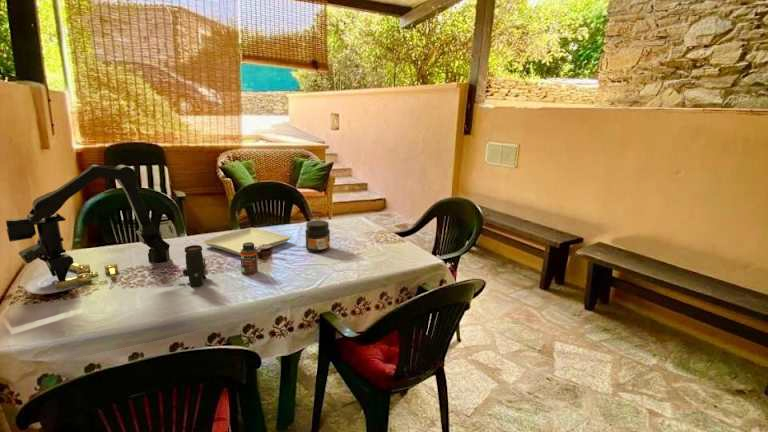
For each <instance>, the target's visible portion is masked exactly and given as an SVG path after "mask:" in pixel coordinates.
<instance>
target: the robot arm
mask: <svg viewBox="0 0 768 432" xmlns="http://www.w3.org/2000/svg"><path fill="white" fill-rule="evenodd" d="M101 178H104V179H110V180H111V179H112V180H116V182H117V184H118V185H120V187H121V189H122V190H123V191H124V193H125V195H126V197H127V200H128V203H129V205H130V207H131V209H132V211H133V214H134V216H135V218H136V221H137V223H138V230H135V232H136V234H137V235H138V240H139V241H140V242H141V243H142V244H144V245H146V246H147V247H149V249H148V253H147V259H148V262H149V263H153V264H163V263H168V261H170V260H171V261H173V260H172V258H170V257H171V256H170V246H171V245H170V244H169V243H168V242H167V241H165V240H164V238H163V237H162V235H161V234H160V232H159V231H158V229H157V227H155V225H154V224H153V222H152V220H151V218H150V215H149V213H148V211H147V208H146V206H145V203H144V201H143V198H142V196H141V194H140V192H139V188H138V177H137V172H136V171H135V169H134V168H132V167H130V166H128V165H124V164H119V165H117V166H112V165H97V164H92V165H90V166H89V167H87V168H86V169H85V170H83V171H82V172H81V173H79V174H78V175H77V176H75V177H73V178H72V179H70V180H69V181H68V182H66V183H65V184H63V185H62V186H60V187H59V188H57V189H55V190H53V191H49V192H47V193H44V194H43V195H40V196H38V197H36V198H35V199H34V200H33V201H32V204H31V205H32V206H31V210H30V211H29V212H28V214H27V216H26V217H23V218H16V219H14V218H13V219H6V220H5V225H6V233H7V234H6V235H7V237H8V241H9V243H10V242H11V243H12V242H18V241H22V240H23V241H24V240H29V239H30V240H31V239H33V237H35V235H37V233H38V238H37V239H36V244H32V245H30V246H29V247H26V248H24V249H22V250H21V251H19V252H18V255H19V256H20V258H21V259H22V260H23V261H24V262H25V264H31V263H32V262H33V261H35V260H37V259H39V260H40V261H43V262H45V264H46V266H47V268H48V270H49V273H51V276H52V277H56V278H57V281H61V280H65V279H67V278H66V277H67V275H68V272H69V270H70V269H69V268H70V266H71V265H72V264H73V263H75V262H74V258H73V256H71V255H69V254H68V253H66V248H64V244H63V241H64V237H63V236H62V234H61V229H60V223H59V222H65V221H67V220H66V218H65V217H64V216H63V215H61V214H60V213H59V212H58V211H59V210H60V209H61V208H62V207H63V206H64V205H65V203H66V202H67V201H68V200H69V199H70V198H72V197H74V195H76V194H77V193H80V192H81V191H82V190H83V189H85V188H86V187H88V186H89V185H90V184H92V183H93V182H95V181H96V180H98V179H101ZM35 225H36V226H35ZM36 229H37V233H36Z"/></svg>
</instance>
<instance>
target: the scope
mask: <svg viewBox="0 0 768 432" xmlns="http://www.w3.org/2000/svg"><path fill="white" fill-rule="evenodd" d="M184 253H185V267H186V268H184V269H183V270H182V275H183V277H186V278H187V277H188V281H189V284H190V285H189V286H190V288H192V289H195V288H196V289H197V288H201V287H203V286H204V280H206V279H207V277H206V276H207V275H208V274H209V272H208V271H209V270H208V269H207V266H208V265H207V263H206V258H205V257H203V246H201V245H199V244H198V245H197V244H194V245H193V244H192V245H188V246H185V247H184Z"/></svg>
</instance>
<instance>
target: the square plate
mask: <svg viewBox="0 0 768 432" xmlns="http://www.w3.org/2000/svg"><path fill="white" fill-rule="evenodd" d="M291 238H292V237H291V236H289V235H284V234H281V233H278V232H274V231H269V230H265V229H261V228H255V227H248V228H247V227H246V228H244V229H239V230H235V231H232V232H228V233H224V234H220V235H218V236H217V235H216V236H215V237H212V238H209V239H205V240H202V243H204V244H205V245H206V246H209V247H212V248H215V249H219V250H222V251H225V252H229V253H232V254H235V255H237V256H241V253H240V252H241V250H242V249H243V244H244V243H247V242H252V243H254V246H259V245H262V244H266V245H264V246H267V245H271V246H272V248H274V247H275V248H276V247H277V246H279V245H281V244H284V243H287V242H288V241H289V240H290V239H291ZM264 246H261V247H264ZM261 247H258V248H256V250H257V251H258V250H259V249H260V248H261Z"/></svg>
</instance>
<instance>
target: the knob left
mask: <svg viewBox="0 0 768 432" xmlns="http://www.w3.org/2000/svg"><path fill="white" fill-rule="evenodd" d="M92 281H93V280H92V277H91V274H90V273H82V274H79V275H78V274H77V275H76V276H74V277H71V278H65V280H61V281H59V280H57V281H55V282H54V287H55V289H56V290H60V288H61V289H64V287H65V288H68V287H72V286H77V285H87V284H89V283H91V282H92ZM71 285H72V286H71ZM67 286H68V287H67Z"/></svg>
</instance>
